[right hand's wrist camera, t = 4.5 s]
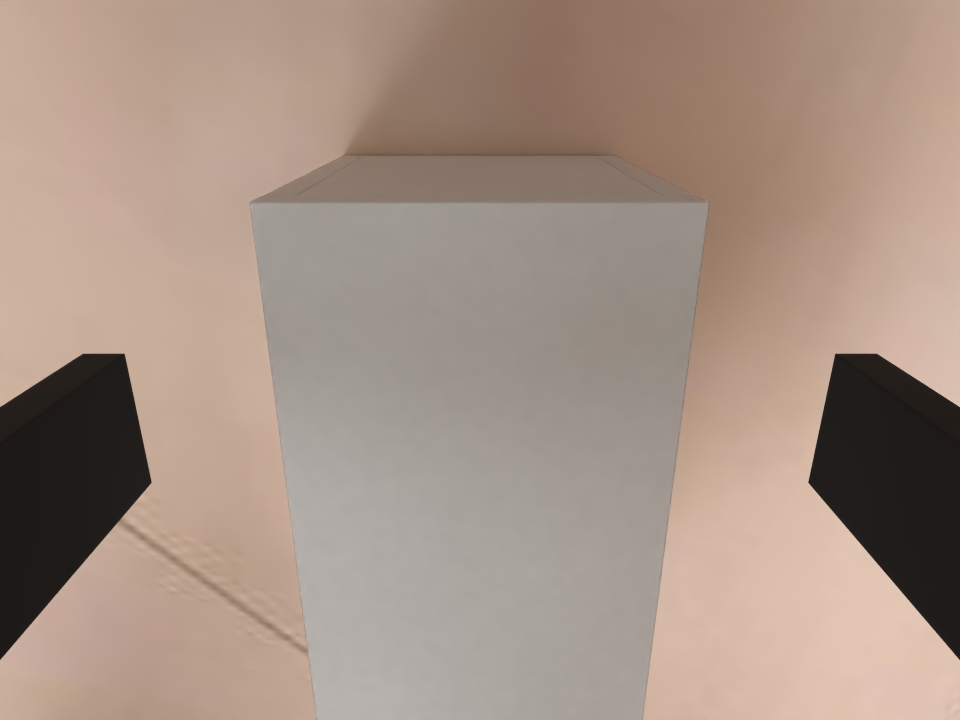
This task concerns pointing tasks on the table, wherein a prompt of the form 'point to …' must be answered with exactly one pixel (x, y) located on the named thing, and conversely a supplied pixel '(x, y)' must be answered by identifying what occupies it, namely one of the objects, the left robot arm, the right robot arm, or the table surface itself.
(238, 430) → the table surface
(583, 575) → the cabinet
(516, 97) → the table surface
